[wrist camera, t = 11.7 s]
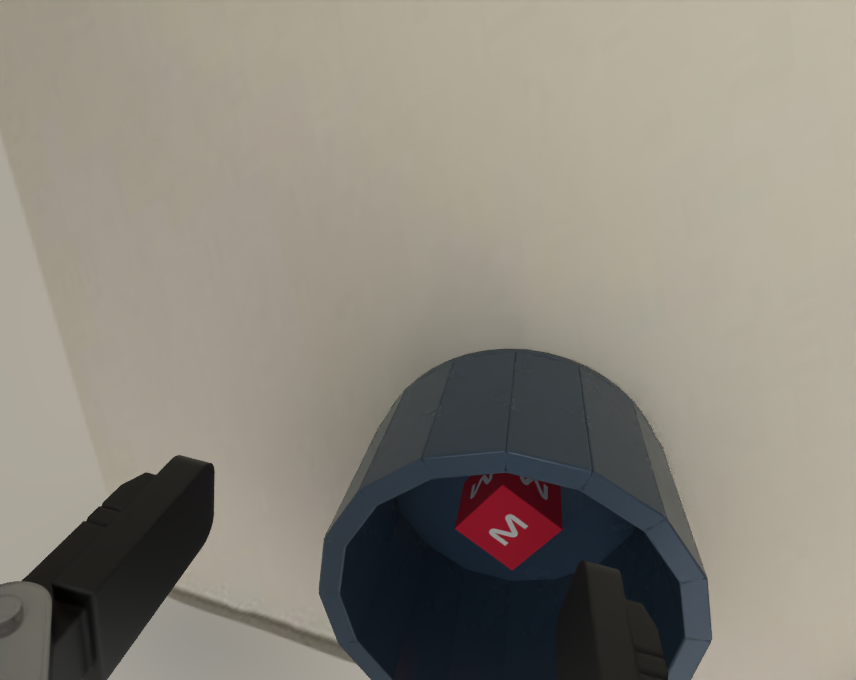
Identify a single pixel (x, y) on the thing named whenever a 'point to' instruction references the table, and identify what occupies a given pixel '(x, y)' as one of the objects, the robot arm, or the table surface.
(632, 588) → the tin
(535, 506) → the dice
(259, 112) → the table surface
